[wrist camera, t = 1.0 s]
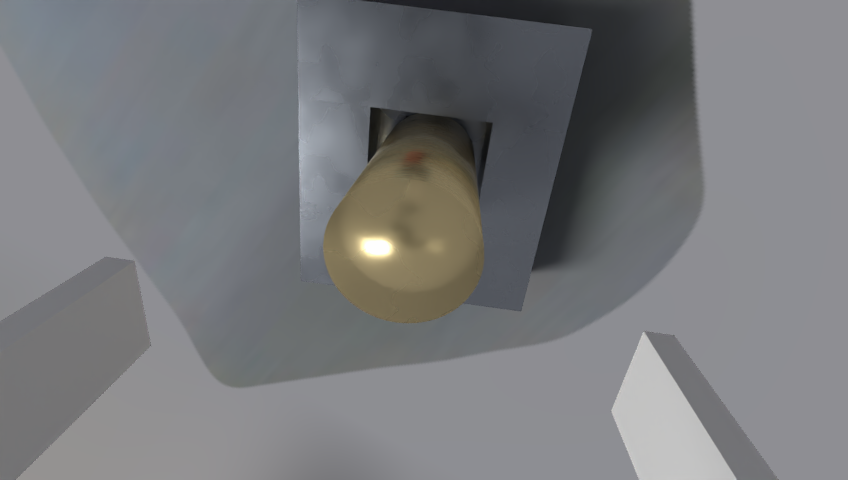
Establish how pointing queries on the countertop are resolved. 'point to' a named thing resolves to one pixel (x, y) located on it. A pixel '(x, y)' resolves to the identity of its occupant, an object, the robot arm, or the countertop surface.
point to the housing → (443, 96)
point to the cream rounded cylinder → (410, 225)
